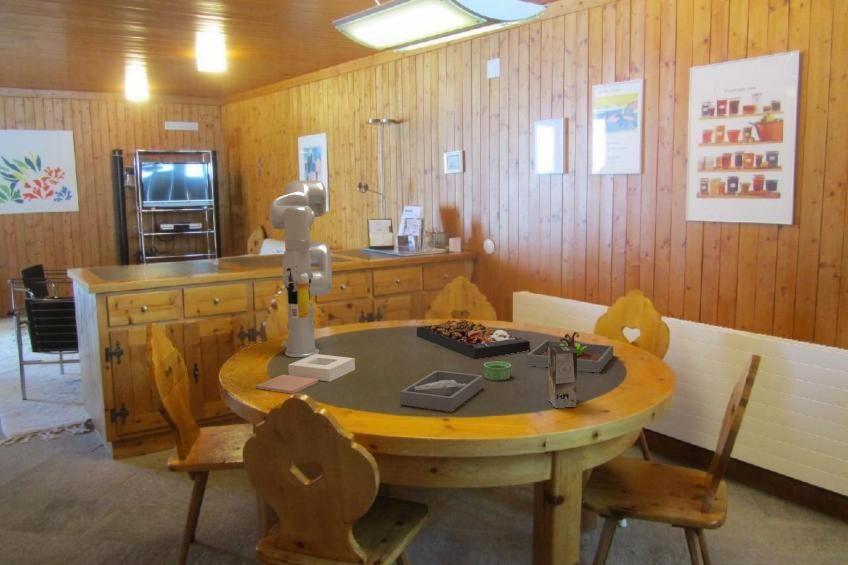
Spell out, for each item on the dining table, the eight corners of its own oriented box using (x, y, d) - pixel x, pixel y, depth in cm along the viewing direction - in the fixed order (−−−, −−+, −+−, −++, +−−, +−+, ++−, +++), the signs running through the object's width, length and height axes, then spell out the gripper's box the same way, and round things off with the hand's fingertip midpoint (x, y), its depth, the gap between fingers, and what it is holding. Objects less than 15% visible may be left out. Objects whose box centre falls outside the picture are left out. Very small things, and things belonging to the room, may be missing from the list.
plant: (566, 372, 238) (566, 339, 237) (532, 359, 256) (533, 329, 254) (612, 365, 247) (613, 333, 245) (577, 353, 264) (577, 323, 263)
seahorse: (457, 382, 222) (405, 383, 210) (481, 377, 213) (427, 378, 201) (459, 399, 220) (406, 401, 209) (483, 394, 212) (429, 396, 200)
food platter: (529, 353, 266) (530, 326, 265) (474, 361, 255) (474, 333, 254) (467, 331, 306) (467, 308, 304) (416, 337, 294) (416, 313, 293)
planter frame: (526, 366, 245) (526, 354, 245) (545, 350, 268) (545, 340, 267) (599, 373, 235) (599, 361, 234) (613, 356, 257) (613, 345, 256)
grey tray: (400, 404, 204) (400, 391, 203) (435, 382, 226) (435, 370, 225) (451, 412, 197) (451, 398, 196) (483, 388, 219) (483, 375, 219)
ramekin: (478, 375, 234) (478, 363, 233) (502, 372, 237) (502, 360, 237) (491, 382, 225) (492, 369, 225) (516, 379, 229) (516, 366, 228)
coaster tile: (255, 388, 221) (255, 385, 221) (282, 377, 234) (282, 374, 233) (292, 394, 215) (292, 390, 215) (318, 382, 228) (318, 379, 227)
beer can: (312, 317, 229) (311, 271, 227) (304, 321, 223) (302, 273, 221) (295, 316, 231) (294, 271, 229) (286, 320, 225) (285, 273, 223)
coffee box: (577, 408, 199) (578, 352, 197) (554, 409, 199) (555, 353, 196) (567, 398, 208) (568, 345, 206) (546, 399, 208) (547, 345, 205)
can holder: (288, 376, 235) (288, 364, 234) (315, 365, 249) (315, 353, 249) (329, 381, 228) (329, 369, 228) (354, 369, 242) (354, 358, 242)
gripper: (302, 243, 233) (304, 297, 235) (271, 247, 217) (273, 305, 220) (321, 244, 230) (323, 299, 232) (291, 248, 214) (293, 307, 217)
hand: (299, 301), depth 226 cm, fingers closed on beer can, 6 cm apart
